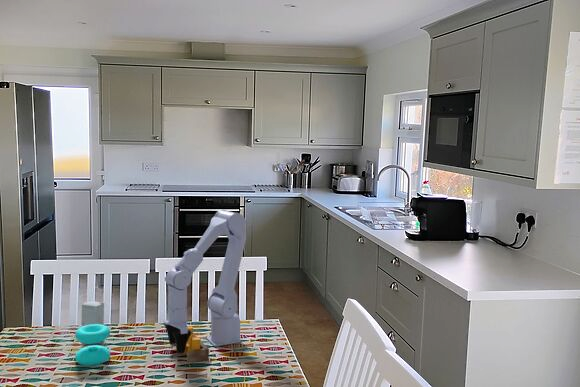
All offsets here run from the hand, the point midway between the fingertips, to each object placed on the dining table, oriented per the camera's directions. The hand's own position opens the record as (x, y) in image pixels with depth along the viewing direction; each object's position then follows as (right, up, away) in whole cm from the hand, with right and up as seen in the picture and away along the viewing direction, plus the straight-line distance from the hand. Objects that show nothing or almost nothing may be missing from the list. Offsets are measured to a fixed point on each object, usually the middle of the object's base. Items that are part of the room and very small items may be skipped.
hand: (177, 348), depth 174 cm
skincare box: (-30, 0, +10) cm, 32 cm away
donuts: (-24, -2, -7) cm, 25 cm away
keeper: (+3, -1, +2) cm, 4 cm away
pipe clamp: (+3, -2, 0) cm, 4 cm away
